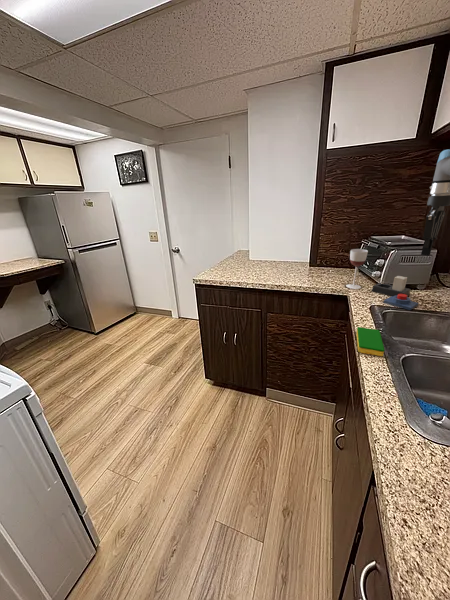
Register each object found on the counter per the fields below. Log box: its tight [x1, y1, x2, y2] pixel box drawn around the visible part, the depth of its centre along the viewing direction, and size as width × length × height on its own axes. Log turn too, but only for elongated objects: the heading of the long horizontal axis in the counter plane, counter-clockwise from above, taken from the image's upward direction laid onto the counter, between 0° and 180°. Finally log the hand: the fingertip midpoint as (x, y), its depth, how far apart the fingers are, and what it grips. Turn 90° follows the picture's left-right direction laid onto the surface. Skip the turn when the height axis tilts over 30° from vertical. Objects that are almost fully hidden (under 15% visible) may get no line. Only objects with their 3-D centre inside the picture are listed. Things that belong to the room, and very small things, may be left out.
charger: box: [392, 275, 408, 292], centre depth 122 cm, size 4×4×9 cm
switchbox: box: [382, 295, 419, 311], centre depth 113 cm, size 11×8×3 cm
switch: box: [397, 294, 408, 300], centre depth 112 cm, size 4×4×2 cm
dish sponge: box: [356, 326, 385, 357], centre depth 85 cm, size 7×14×2 cm, turn 156°
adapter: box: [371, 282, 411, 297], centre depth 125 cm, size 14×8×3 cm, turn 35°
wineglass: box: [345, 248, 369, 290], centre depth 133 cm, size 8×9×20 cm
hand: (425, 254), depth 105 cm, fingers closed
